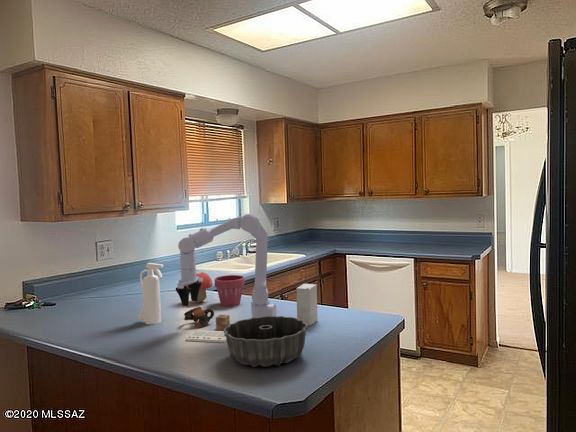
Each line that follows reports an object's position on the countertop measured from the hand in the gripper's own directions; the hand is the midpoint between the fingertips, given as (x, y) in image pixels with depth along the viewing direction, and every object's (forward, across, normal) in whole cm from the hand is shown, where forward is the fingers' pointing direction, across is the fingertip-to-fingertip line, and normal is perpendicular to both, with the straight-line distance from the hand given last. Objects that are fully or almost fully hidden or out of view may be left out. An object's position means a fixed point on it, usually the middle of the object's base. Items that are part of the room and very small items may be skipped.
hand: (189, 303), depth 173 cm
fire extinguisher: (+11, -8, -22) cm, 26 cm away
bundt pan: (+11, +24, +38) cm, 46 cm away
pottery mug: (+11, -7, 0) cm, 13 cm away
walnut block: (+10, -3, +12) cm, 16 cm away
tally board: (+10, +8, +12) cm, 17 cm away
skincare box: (+11, -15, +43) cm, 47 cm away
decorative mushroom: (+11, -43, -17) cm, 47 cm away
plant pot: (+11, -41, 0) cm, 42 cm away
